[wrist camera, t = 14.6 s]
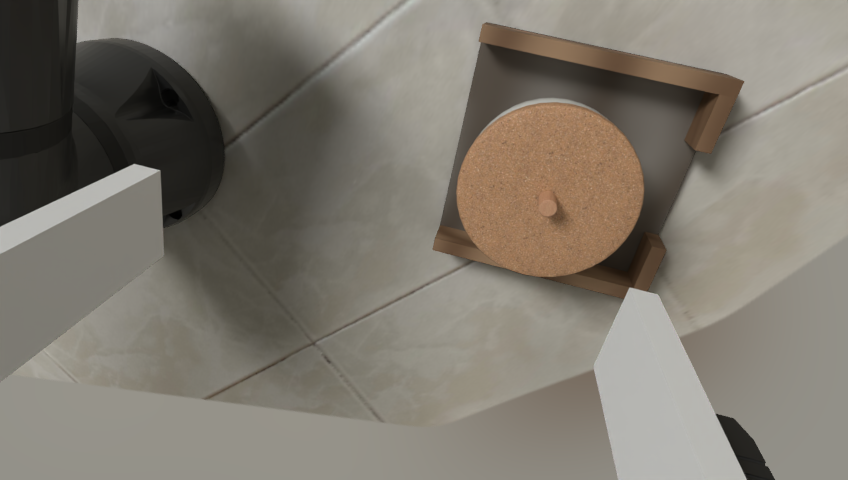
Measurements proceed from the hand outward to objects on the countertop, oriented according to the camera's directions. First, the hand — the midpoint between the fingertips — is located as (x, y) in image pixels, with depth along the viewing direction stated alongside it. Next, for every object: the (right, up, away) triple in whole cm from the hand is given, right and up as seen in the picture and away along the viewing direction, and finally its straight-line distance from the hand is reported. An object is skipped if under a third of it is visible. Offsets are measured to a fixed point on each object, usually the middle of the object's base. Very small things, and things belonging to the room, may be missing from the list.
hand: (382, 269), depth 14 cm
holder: (+11, +6, +23) cm, 26 cm away
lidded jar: (+10, +7, +23) cm, 26 cm away
